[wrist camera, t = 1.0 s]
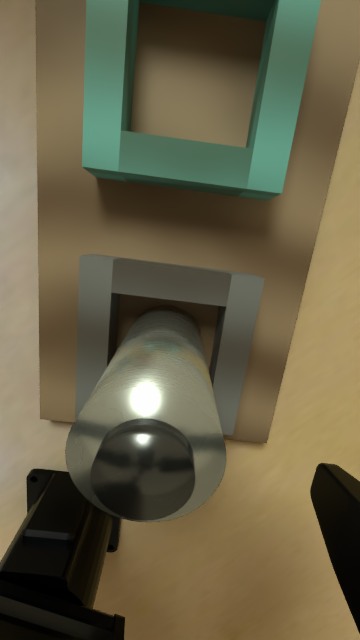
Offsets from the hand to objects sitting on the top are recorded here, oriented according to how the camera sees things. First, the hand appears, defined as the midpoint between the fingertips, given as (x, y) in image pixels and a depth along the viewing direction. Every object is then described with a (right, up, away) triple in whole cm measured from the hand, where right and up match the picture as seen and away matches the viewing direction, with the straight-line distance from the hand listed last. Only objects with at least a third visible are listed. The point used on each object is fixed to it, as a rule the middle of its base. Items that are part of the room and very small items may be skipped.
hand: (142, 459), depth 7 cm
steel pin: (0, +2, +9) cm, 9 cm away
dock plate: (+1, +8, +8) cm, 12 cm away
